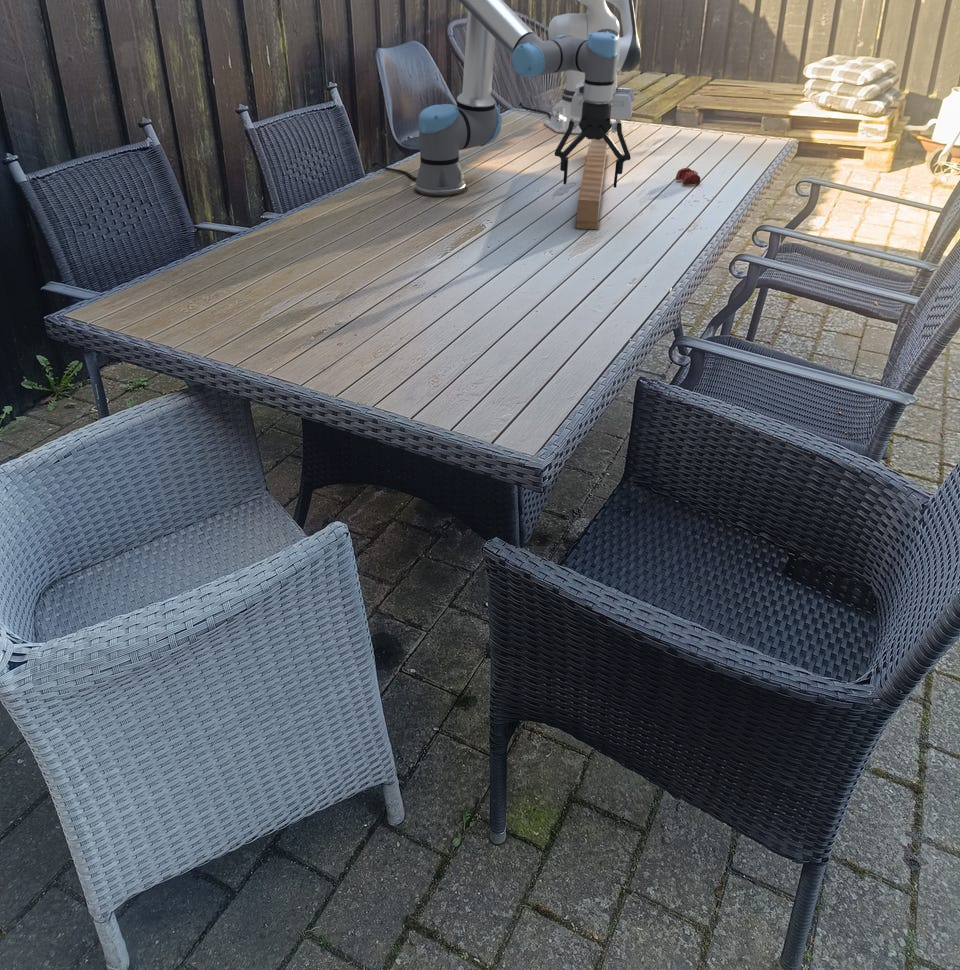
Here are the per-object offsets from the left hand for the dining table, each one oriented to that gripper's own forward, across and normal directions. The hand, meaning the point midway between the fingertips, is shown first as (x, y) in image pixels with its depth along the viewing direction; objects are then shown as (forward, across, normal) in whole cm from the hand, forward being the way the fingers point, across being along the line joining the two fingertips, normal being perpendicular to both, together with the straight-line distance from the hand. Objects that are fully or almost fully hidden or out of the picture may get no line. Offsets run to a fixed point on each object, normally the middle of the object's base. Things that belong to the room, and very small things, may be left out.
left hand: (589, 184), depth 230 cm
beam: (+10, 0, -31) cm, 33 cm away
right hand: (+2, 0, -63) cm, 63 cm away
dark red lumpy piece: (+10, -30, -41) cm, 51 cm away
